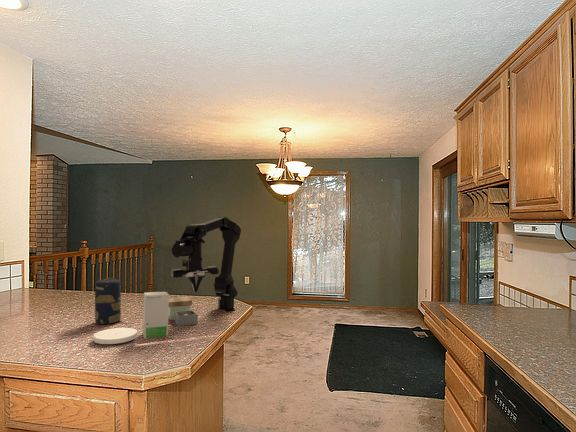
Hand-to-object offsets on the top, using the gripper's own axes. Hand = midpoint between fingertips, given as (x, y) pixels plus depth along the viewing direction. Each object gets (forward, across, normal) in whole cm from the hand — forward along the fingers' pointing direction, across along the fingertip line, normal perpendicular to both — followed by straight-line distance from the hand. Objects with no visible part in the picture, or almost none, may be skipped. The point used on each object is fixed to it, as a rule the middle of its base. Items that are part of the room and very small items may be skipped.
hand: (195, 292), depth 166 cm
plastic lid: (+11, +31, +16) cm, 37 cm away
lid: (+5, +6, -5) cm, 10 cm away
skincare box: (+11, +18, +18) cm, 28 cm away
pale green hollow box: (+11, +6, -5) cm, 14 cm away
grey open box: (+11, +5, +6) cm, 14 cm away
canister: (+11, +33, -10) cm, 36 cm away
